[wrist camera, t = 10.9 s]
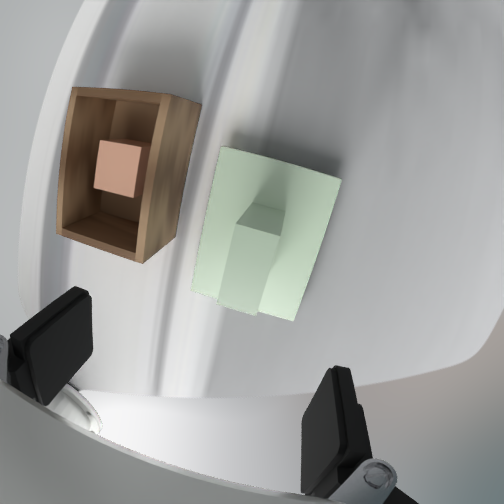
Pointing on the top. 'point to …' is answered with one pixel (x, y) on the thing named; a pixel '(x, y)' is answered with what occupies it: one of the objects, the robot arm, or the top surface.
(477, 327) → the top surface
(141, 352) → the top surface
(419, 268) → the top surface
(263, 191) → the mint green stepped block
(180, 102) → the box
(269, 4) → the top surface
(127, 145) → the block
